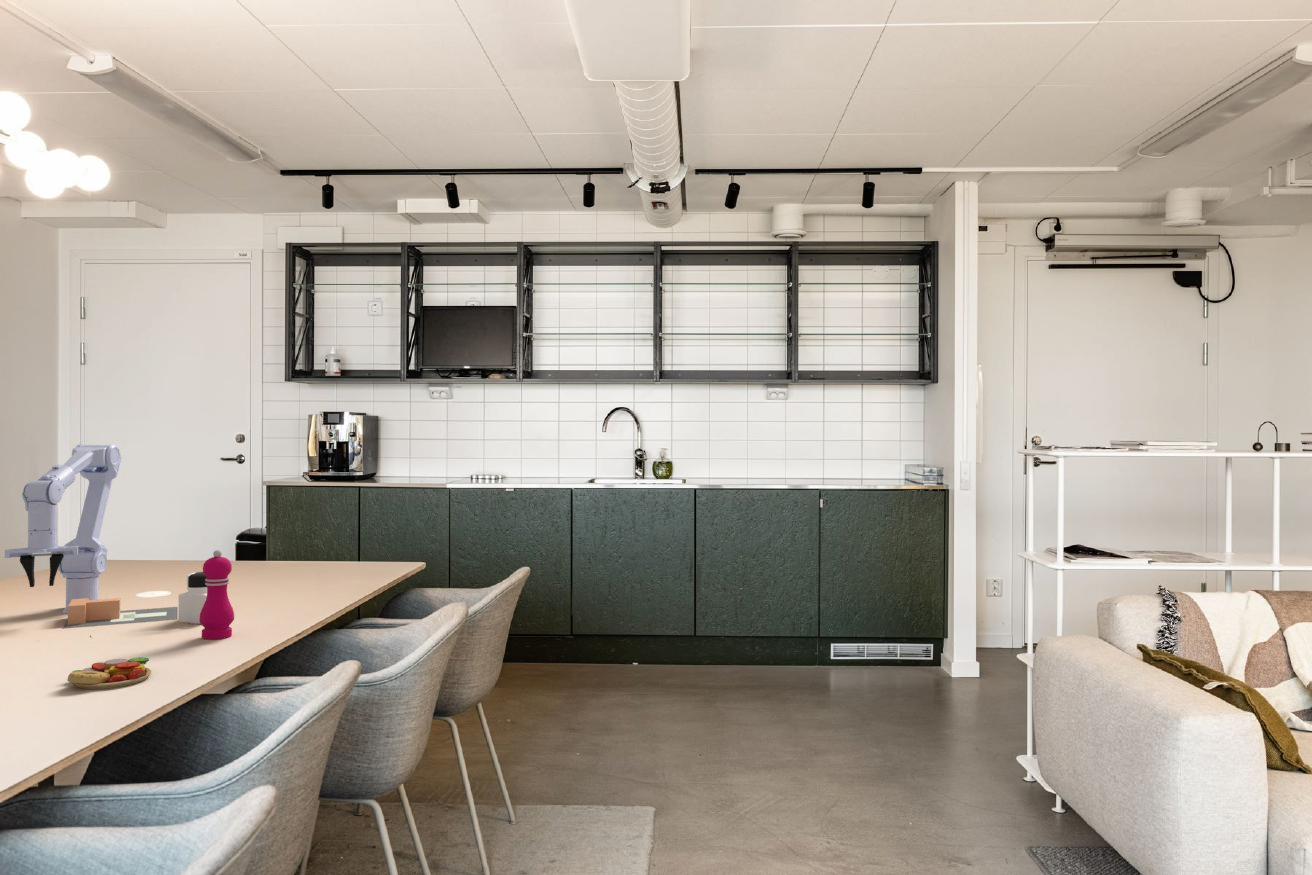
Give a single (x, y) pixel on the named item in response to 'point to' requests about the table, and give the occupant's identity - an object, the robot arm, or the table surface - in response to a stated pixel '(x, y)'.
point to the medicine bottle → (193, 598)
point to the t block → (92, 610)
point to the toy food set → (111, 674)
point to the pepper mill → (216, 599)
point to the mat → (133, 617)
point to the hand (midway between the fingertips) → (41, 585)
